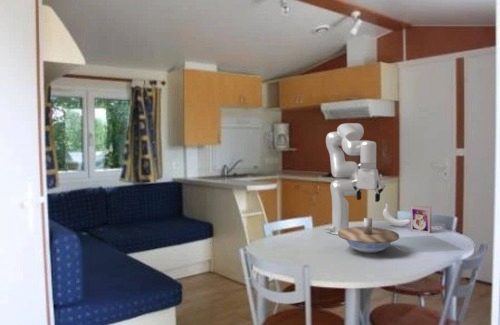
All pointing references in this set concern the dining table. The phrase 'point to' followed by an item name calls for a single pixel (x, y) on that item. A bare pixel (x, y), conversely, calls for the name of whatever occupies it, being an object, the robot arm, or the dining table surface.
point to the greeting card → (421, 218)
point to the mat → (423, 244)
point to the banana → (394, 221)
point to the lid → (368, 234)
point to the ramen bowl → (368, 246)
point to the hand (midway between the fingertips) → (368, 200)
